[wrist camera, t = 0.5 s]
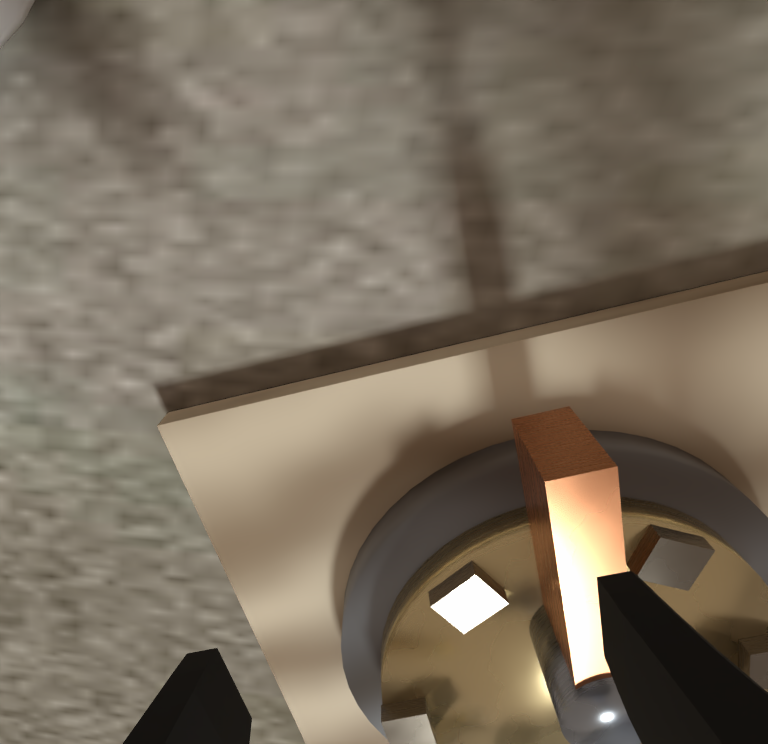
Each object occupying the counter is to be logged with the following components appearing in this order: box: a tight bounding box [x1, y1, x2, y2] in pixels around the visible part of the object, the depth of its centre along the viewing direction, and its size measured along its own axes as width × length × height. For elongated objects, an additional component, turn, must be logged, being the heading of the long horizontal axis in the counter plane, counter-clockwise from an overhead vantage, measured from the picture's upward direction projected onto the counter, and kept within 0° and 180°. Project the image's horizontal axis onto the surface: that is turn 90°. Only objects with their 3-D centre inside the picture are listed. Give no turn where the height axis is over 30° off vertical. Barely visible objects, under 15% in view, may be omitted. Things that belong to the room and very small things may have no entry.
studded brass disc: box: [381, 406, 768, 744], centre depth 16 cm, size 18×14×4 cm
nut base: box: [157, 271, 768, 744], centre depth 21 cm, size 24×24×2 cm
